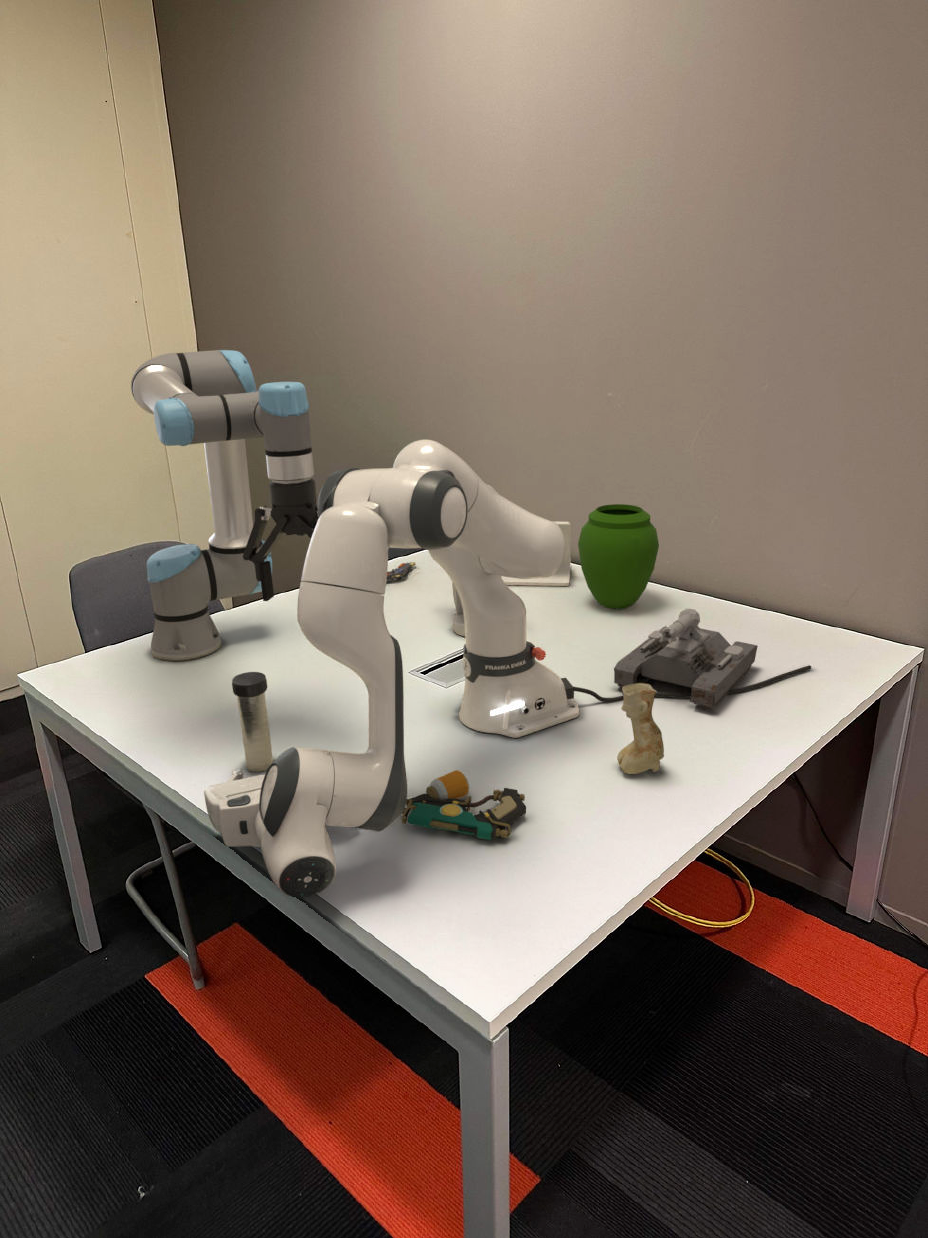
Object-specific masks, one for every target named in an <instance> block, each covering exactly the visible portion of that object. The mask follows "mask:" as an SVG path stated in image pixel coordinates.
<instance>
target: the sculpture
mask: <svg viewBox="0 0 928 1238" xmlns="http://www.w3.org/2000/svg"><path fill="white" fill-rule="evenodd" d="M621 690H622V693H623V695H624V700H622V701H623V702H622V705H621V709H620V710H621V711H623V712H625V714H626V717H627V718H628V719H630V722H631V727H632V734H633V740H632V741H631V742H630V743H628V744H627V745H626V746H624V747H623V748H622V749H620V750H619V751H618V753H617V757H616V760H617V764H618V766H620V769H621V771H622V772H624V773H626V774H627V775H638V774H641V773H644V772H646V771H648V770H651V771H652V772H654V773H656V772H659V771H660V769H661V762H660V761H661V760H663V758H664V757H665V754H664V753H665V747H664V746H665V745H664V741H663V734H662V730H661V728H660V727H659V726H658V724H657V723H656V722H655V720H654V718H653V717H654V716H653V706H654V702H655V697H656V696H655V694H656V692H657V690H656V689H654V688H653V687H652V685H651V684H650V683H637V684H630V685H626V686H623V687H621Z"/></svg>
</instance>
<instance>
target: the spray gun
mask: <svg viewBox="0 0 928 1238" xmlns="http://www.w3.org/2000/svg"><path fill="white" fill-rule="evenodd" d="M470 789H471V786H470V782H469V779H468V777H467V775H466V774H465V773H464V772H462V771H461V770H459V769H457V770H453V771H450V772H448V773H446V774H443V775H441V776H439V777H437V778H434V779H433V780H432V781H431V782H430V783H429V786H427V787H426V789H425V793H422V794H418V795H415V796H412V797H409V798H407V803H406V807H405V810H404V812H403V813H402V814H401V825H406V824H408V825H412V826H417V827H422V828H426V829H439V830H445V831H449V832H455V833H461V834H465V835H471V836H473V837H476V838H477V839H481V840H487V841H493V840H496V838H497V837H501V838H503V839H507V838H509V837H511V833H512V828H511V825H513V824H514V823H515V822H517V821H518V820H519V819H521V818H522V817H523V816H524V815H526V814H527V805H526V803H524V802H523V801H525V799H526V795H525V794H524V793H519V792H518V791H519V790H518V789H514V788H510V787H509V788H508V787H504V788H503V790H500V789H494V790H493V794H489V795H487V796H484V797H483V798H482V799H480V800H478V801H475V802H472V796H471V795H468V794H469V792H470ZM464 797H466V798H465V800H464V799H461V798H464ZM489 801H493V802H499V805H497V806H495V807H493V808H492V809H486V812H484V811H483V810H482V809H480V810H478V813H476V814H474V813H473V812H471V811H470V810H471V809H472V808H477V807H480V806H482V805H484V804H486V803H487V802H489Z"/></svg>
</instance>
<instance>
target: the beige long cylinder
mask: <svg viewBox="0 0 928 1238" xmlns="http://www.w3.org/2000/svg"><path fill="white" fill-rule="evenodd" d="M236 698H237V699H236V700H237V706H238V714H239V720H240V721H239V722H240V728H241V734H242V743H243V750H244V758H245V765H246V770H248V771H249V772H252V773H261V772H266V771H267V769H268V767H269V766H270V765H271V764H272V763H273V762H274V757H273V750H272V741H271V732H270V726H269V715H268V708H267V700H266V691H265V692H264V693H263V694H261V695H258V696H254V697H238V696H236Z"/></svg>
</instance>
